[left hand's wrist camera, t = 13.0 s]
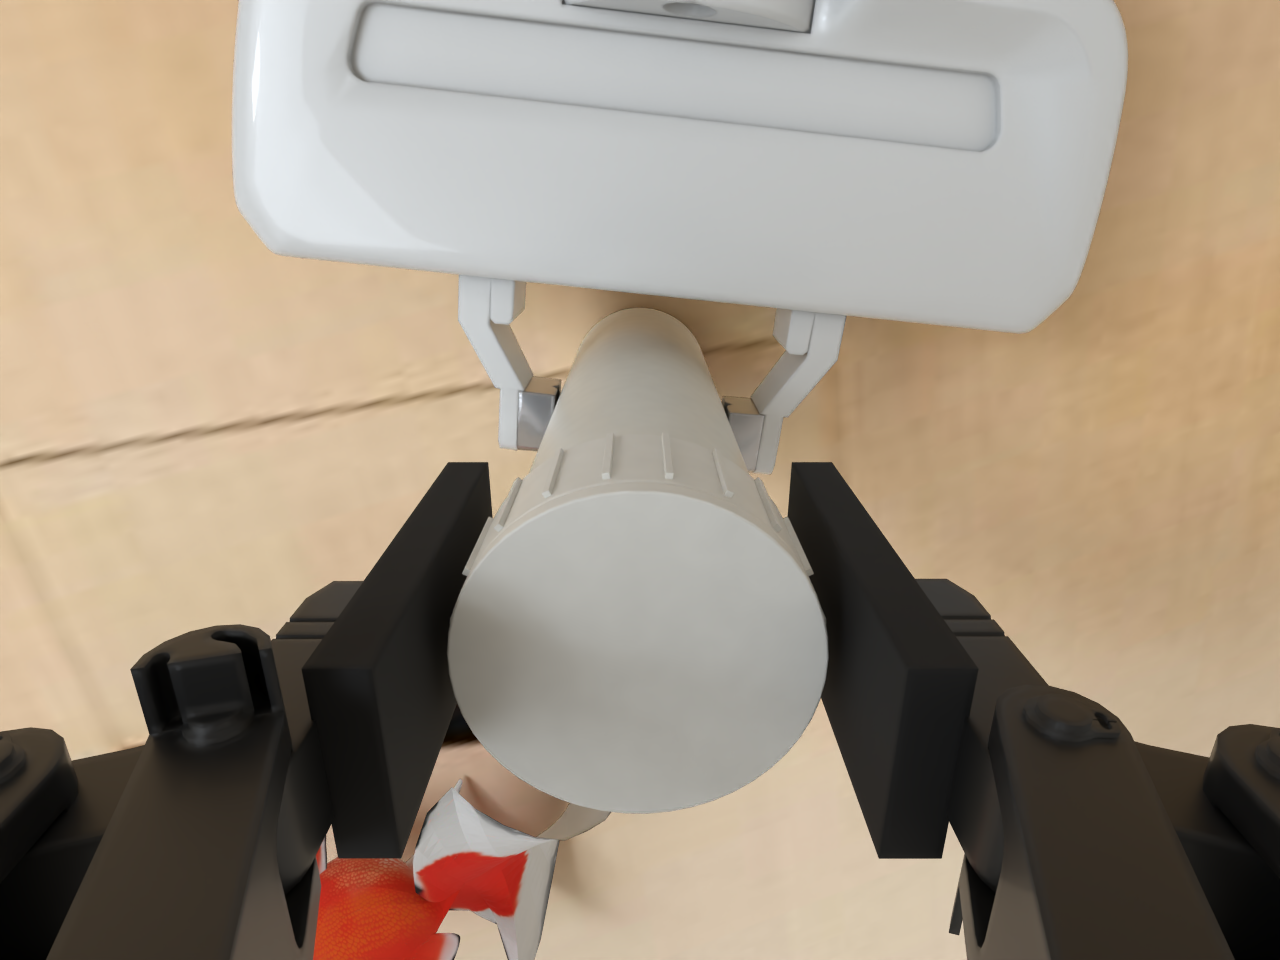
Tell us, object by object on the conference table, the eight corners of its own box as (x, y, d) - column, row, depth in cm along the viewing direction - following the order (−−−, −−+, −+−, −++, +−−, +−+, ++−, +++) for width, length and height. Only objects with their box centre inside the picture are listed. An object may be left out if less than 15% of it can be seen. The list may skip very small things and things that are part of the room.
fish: (175, 772, 27) (178, 1084, 20) (572, 637, 33) (677, 846, 26) (255, 893, 34) (278, 1157, 27) (573, 764, 40) (656, 956, 33)
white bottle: (683, 288, 26) (755, 451, 10) (720, 414, 27) (836, 735, 11) (555, 331, 26) (417, 554, 10) (599, 451, 28) (542, 810, 12)
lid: (751, 385, 11) (779, 433, 9) (830, 668, 13) (869, 766, 11) (427, 486, 12) (376, 556, 10) (545, 744, 14) (526, 851, 11)
